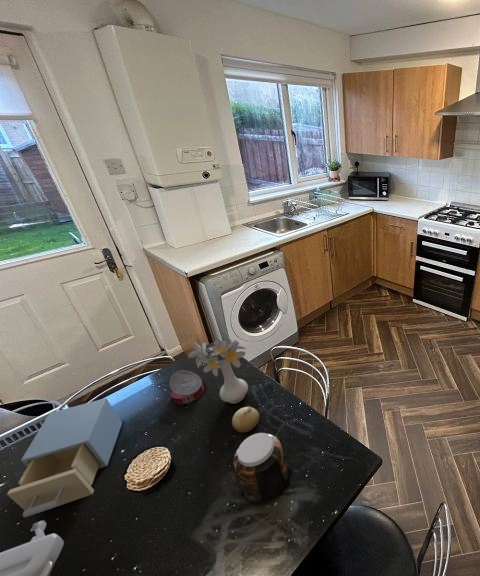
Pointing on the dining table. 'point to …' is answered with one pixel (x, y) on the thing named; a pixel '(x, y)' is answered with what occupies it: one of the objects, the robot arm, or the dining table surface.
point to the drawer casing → (78, 431)
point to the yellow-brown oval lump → (245, 419)
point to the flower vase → (223, 367)
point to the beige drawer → (56, 480)
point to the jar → (261, 467)
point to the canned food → (185, 386)
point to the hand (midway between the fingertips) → (11, 533)
